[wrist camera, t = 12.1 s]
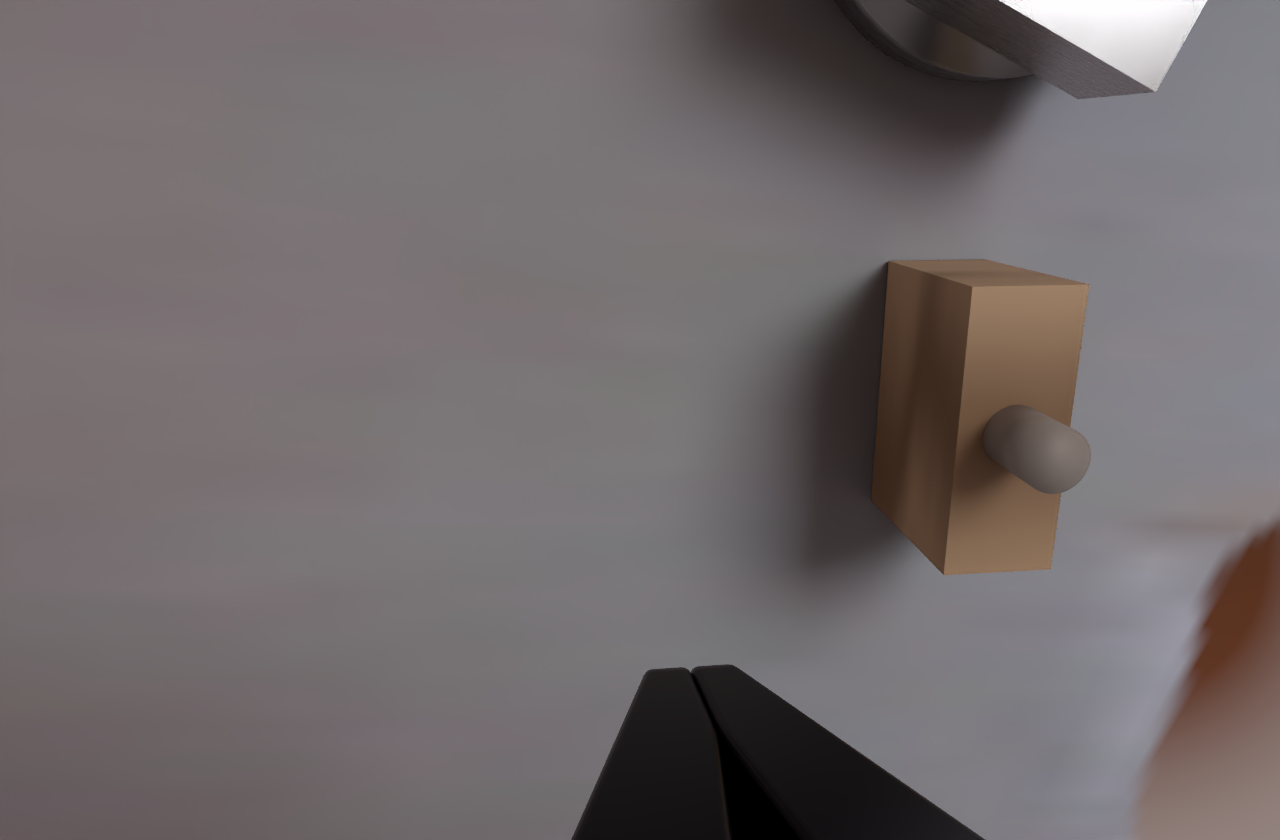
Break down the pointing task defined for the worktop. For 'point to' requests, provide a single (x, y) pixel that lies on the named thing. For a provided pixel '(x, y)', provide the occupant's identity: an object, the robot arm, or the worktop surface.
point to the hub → (926, 42)
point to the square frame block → (1078, 38)
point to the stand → (978, 411)
